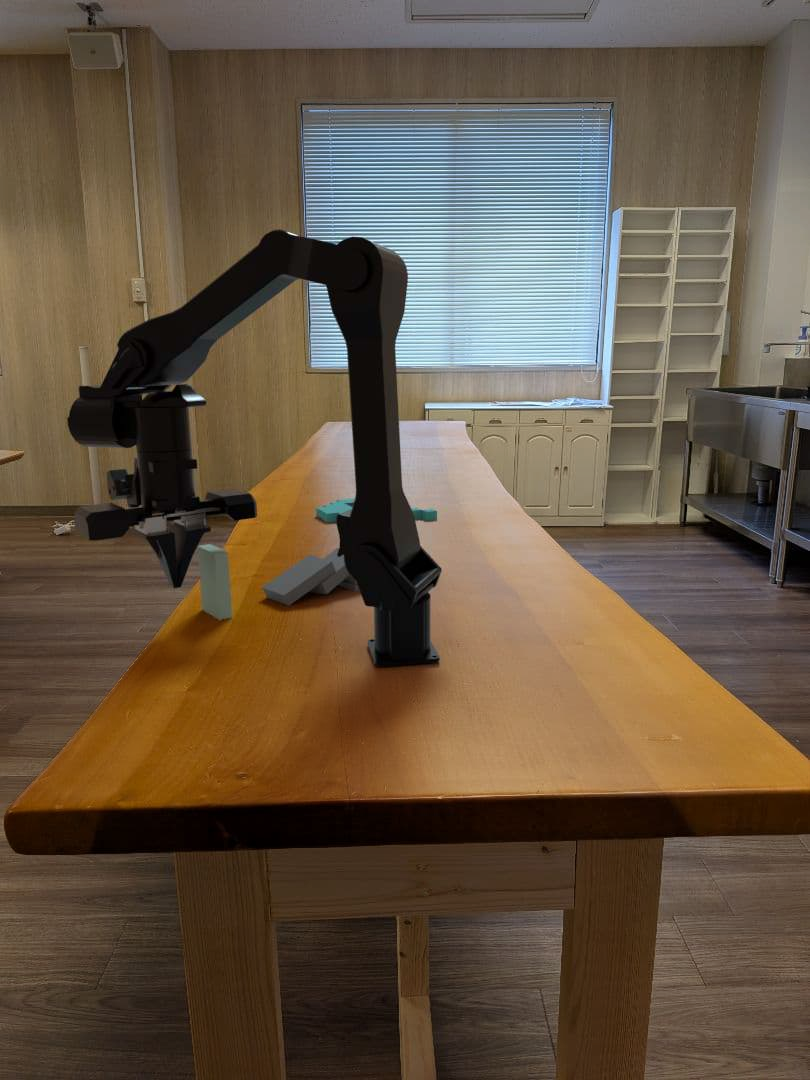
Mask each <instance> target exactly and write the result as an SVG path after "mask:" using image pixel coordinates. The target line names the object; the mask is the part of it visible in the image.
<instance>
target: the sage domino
mask: <svg viewBox="0 0 810 1080" xmlns="http://www.w3.org/2000/svg"><path fill="white" fill-rule="evenodd" d="M196 549H197V558H198V559H197V560H198V571H199V573H198V574H199V583H200V584H199V585H200V597H201V599H200V601H201V609H202V611H204V612H205V613H207V614H208V613H209V614H208V615H210V616H211V615H212V617H213V618H214V619H216V618H217V620H218V619H219V620H218V621H223V620H222V619H224V620H227V618H228V619H232V618H233V611H232V609H233V608H232V593H231V580H230V565H229V564H230V563H229V552H228V551H227V550H225V549H222V548H220V547H217V546H215V545H213V544H210V543H207V544H202V545H198V546H197V548H196Z"/></svg>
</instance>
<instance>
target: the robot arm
mask: <svg viewBox="0 0 810 1080" xmlns="http://www.w3.org/2000/svg"><path fill="white" fill-rule="evenodd" d="M300 279H301V280H305V281H308V282H312V283H316V284H320V285H322V286H323V285H324V286H325V287H326V291H327V295H328V299H329V305H330V308H331V312H332V314H333V316H334V319H335V321H336V324H337V326H338V328H339V330H340V332H341V335H342V338H343V339H344V342H345V346H346V354H347V374H348V387H349V403H350V404H349V405H350V418H351V431H352V432H351V433H352V447H353V449H352V450H353V463H354V464H353V465H354V479H355V482H354V483H355V497H354V498H355V500H354V504H353V507H352V509H350V510H348V511H346V512H343V513H341V514H339V515H337V522H336V529H337V533H338V536H339V550H338V554H337V556H338V557H340V556H342V555H344V564H345V568H346V570H347V572H348V574H349V575H351V576H352V577H353V578H354V579H355V580H356V581H357V584H358V587H359V590H360V591H359V592H360V595H361V598H362V600H363V604H364V605H365V606H366V607H372V608H373V613H374V614H373V619H374V620H373V621H374V623H373V624H374V625H373V628H374V631H373V632H374V638H370V639H368V640H367V648H368V649H369V652H370V656H371V658H372V661H373V663H374V666H376V667H390V666H391V667H393V666H403V665H405V666H406V665H416V664H417V665H418V664H431V663H439V662H440V658H441V657H440V655H439V653H438V651H437V650H436V648H435V646H434V644H433V643H432V640H431V594H430V593H429V591H431V590H432V589H434V588H435V587H437V585H438V582H439V579H440V578H441V574H442V567H441V566H440V565H439V564H438V563H437V562H436V561H435V559H433V558H432V557H431V555H430V554H429V553H428V552H427V551H426V550H425V549H424V548H423V547H422V546H421V541H420V536H419V532H418V528H417V522H416V519H415V517H414V514H413V512H412V509H411V508H412V507H411V506H410V503H409V501H408V499H407V496H406V494H405V491H404V488H403V476H402V475H403V474H402V457H401V438H400V437H401V436H400V435H401V434H400V419H399V418H400V417H399V416H400V415H399V414H400V413H399V399H398V398H399V396H398V376H397V360H396V359H397V358H396V341H397V338H398V335H399V330H400V328H401V325H402V321H403V319H404V315H405V309H406V303H407V302H406V299H407V291H408V283H409V272H408V268H407V265H406V263H405V261H404V259H403V258H402V257H401V256H400V255H399V254H398V253H397V252H396V251H395V250H393V249H391V248H388V247H386V246H384V245H381V244H379V243H376V242H374V241H372V240H370V239H368V238H365V237H363V236H361V237H360V236H350V237H347V238H344V239H342V240H341V241H339V242H338V243H332V242H328V241H324V240H321V239H315V238H310V237H305V236H300V235H297V234H295V233H292V232H288V231H286V230H283V229H274V230H271V231H269V232H267V233H265V234H264V235H263V237H262V238H261V239H260V241H259V242H258V244H257V245H256V246H254V247H253V248H252V249H251V250H249V251H248V252H247V253H246V254H245V255H244V256H242V257H241V258H240V259H238V260H237V261H236V262H235V263H234V264H232V265H231V266H230V267H228V268H227V269H226V270H225V271H224V272H222V273H221V274H220V275H218V277H216V278H215V279H214V280H213V281H212V282H209V284H208V285H206V286H205V287H204V288H203V289H201V290H200V291H198V293H196V294H195V295H194V296H193V297H192V298H190V299H189V300H188V301H186V303H184V304H183V305H182V306H180V307H179V308H177V309H175V310H173V311H171V312H168V313H164V314H162V315H159V316H156V317H153V318H150V319H147V320H145V321H143V322H141V323H140V324H137V325H136V326H133V327H131V328H130V329H128V330H126V331H125V332H123V334H122V335H121V336H120V337H119V339H118V341H117V344H116V346H117V352H116V354H115V356H114V358H113V360H112V361H111V362H112V363H111V365H110V366H109V368H108V371H107V372H106V374H105V376H104V379H103V381H102V383H101V385H79V386H78V393H79V397H77V398H76V399H75V400H74V401H73V403H72V405H71V407H70V410H69V413H68V417H67V418H66V419H67V427H68V431H69V433H70V436H71V437H72V438H73V440H74V441H75V442H76V443H78V444H79V445H80V446H83V447H87V448H111V449H112V448H115V449H116V448H117V449H123V448H124V449H131V448H133V447H136V448H135V449H136V457H134V458H133V459H134V462H133V468H134V470H133V473H130V474H129V473H128V471H127V469H126V468H122V469H111V470H107V472H106V483H107V491H108V496H109V499H110V500H112V501H117V500H126V503H127V507H128V508H124V507H122V506H120V505H117V504H116V503H113V502H108V503H100V504H99V503H97V504H90V505H81V506H78V507H77V509H76V511H74V514H73V515H74V516H73V520H74V529H75V533H77V534H78V535H80V536H81V537H83V538H85V539H86V540H88V541H93V542H94V541H104V540H110V539H111V540H112V539H116V538H117V539H118V538H123V537H124V536H125V535H126V533H127V532H128V531H129V530H131V533H132V534H133V535H135V536H137V537H138V538H141V539H142V540H145V541H147V543H148V545H149V546H150V547H151V549H152V550H153V552H154V554H155V555H156V557H157V560H158V561H159V564H160V567H161V568H162V570H163V572H164V574H165V577H166V579H167V581H168V583H169V585H170V587H171V588H172V589H174V590H175V589H177V588H182V585H183V583H184V580H185V577H186V574H187V571H188V569H189V566H190V564H191V561H192V559H193V557H194V554H195V552H196V550H197V549H198V548H197V546H199V544H200V542H201V540H202V538H203V537H204V535H205V533H210V532H212V526H211V525H208V524H207V522H206V520H207V517H208V516H214V515H215V516H216V515H222V514H225V515H226V516H227V517H228V518H229V519H231V520H232V521H242V520H250V519H255V518H258V508H257V507H258V505H257V504H258V503H257V501H256V499H255V497H254V495H253V494H251V493H250V492H246V491H243V490H239V489H235V488H229V489H228V488H227V489H220V490H213V491H207V492H206V495H205V497H204V499H200V496H198V495H196V487H195V486H196V485H195V476H194V470H196V469H198V460H197V459H196V458H193V450H192V435H191V423H190V420H191V419H190V408H197V407H198V408H199V407H205V406H206V404H207V400H206V399H205V397H203V396H201V395H200V394H199V393H197V391H195V390H194V389H193V387H192V386H191V384H189V383H186V384H185V382H187V381H189V379H191V377H192V376H193V375H195V373H196V372H197V371H198V369H200V368H201V366H203V364H204V363H205V361H206V360H207V359H208V355H209V352H210V350H211V348H212V347H213V345H215V343H216V342H217V341H218V340H219V339H220V338H222V337H224V336H225V335H226V334H227V333H228V332H229V331H231V330H233V329H234V328H235V327H237V326H238V325H239V324H241V323H242V322H243V321H244V320H246V319H247V318H248V317H249V316H251V315H252V314H253V313H255V312H256V311H258V309H260V308H261V307H262V306H265V304H267V303H268V302H269V301H270V300H272V299H273V298H274V297H276V296H277V295H278V294H279V293H281V292H282V291H284V290H285V289H286V288H287V287H289V286H290V285H291V284H293V283H294V282H295V281H297V280H300ZM183 383H184V384H183ZM172 386H174V388H172V390H170V391H168V389H169V388H171V387H172ZM143 395H145V396H144V397H143ZM140 506H141V507H140ZM168 529H169V530H168Z"/></svg>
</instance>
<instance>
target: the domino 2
mask: <svg viewBox="0 0 810 1080" xmlns="http://www.w3.org/2000/svg"><path fill="white" fill-rule="evenodd" d="M338 550H339V548H338V547H336V548H334V549H333V550H332V551H331V552H330V553H329V554H327V555H325V557H324V558H323V559H326V560H329V561H332V563H333V565H334V568H335V570H336V572H335V573H333V574H332V575H330V576H329V577H328V578H326V579H325V580H324V581H322V582H321V583H320V584H318V585H317V586H315V587H314V588H313V589H311V590H310V591H309V592H308V593H314V594H323V595H328V594H329V593H330V592H331V591H332V590H333V589H334V588H336V586H339V585H338V584H339V583H340V582H342V581H343V580H344V579H345V578H346V577H347V576H348V575H349V574H348V572H347V570H346V568H345V564H344V555H342V556H340V557H338V556H337V554H338Z"/></svg>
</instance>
